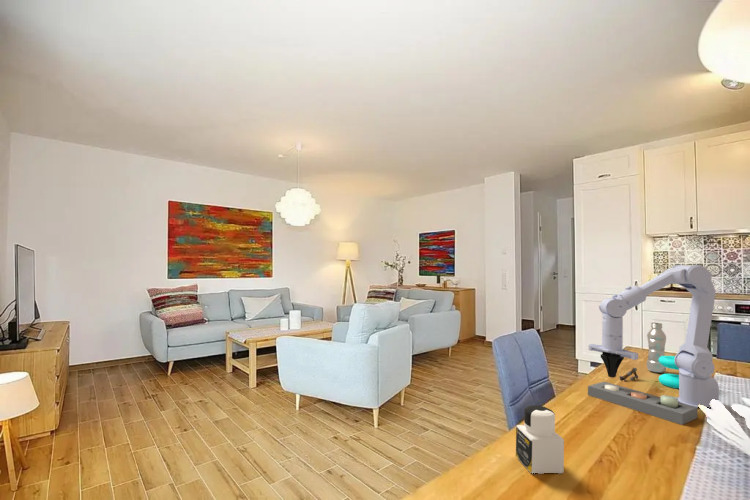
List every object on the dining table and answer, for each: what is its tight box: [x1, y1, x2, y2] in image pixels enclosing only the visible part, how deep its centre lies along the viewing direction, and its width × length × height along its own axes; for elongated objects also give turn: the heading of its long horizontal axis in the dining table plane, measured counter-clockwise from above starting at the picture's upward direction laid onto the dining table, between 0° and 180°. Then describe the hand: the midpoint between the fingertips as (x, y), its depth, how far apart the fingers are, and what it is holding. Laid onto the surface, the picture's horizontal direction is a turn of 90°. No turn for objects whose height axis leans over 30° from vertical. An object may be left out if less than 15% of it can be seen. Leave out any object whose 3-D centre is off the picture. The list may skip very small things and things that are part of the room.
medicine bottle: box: [515, 405, 565, 475], centre depth 82 cm, size 7×7×12 cm
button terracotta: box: [631, 392, 647, 400], centre depth 118 cm, size 4×4×3 cm
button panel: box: [587, 381, 699, 426], centre depth 118 cm, size 26×10×3 cm, turn 31°
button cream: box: [605, 385, 619, 392], centre depth 125 cm, size 4×4×3 cm
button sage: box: [660, 394, 678, 409], centre depth 112 cm, size 4×4×3 cm
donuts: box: [658, 355, 679, 390], centre depth 140 cm, size 10×10×10 cm
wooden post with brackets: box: [619, 367, 639, 382], centre depth 145 cm, size 2×8×4 cm, turn 108°
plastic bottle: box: [646, 322, 667, 374], centre depth 157 cm, size 6×7×20 cm
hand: (612, 376), depth 125 cm, fingers closed
